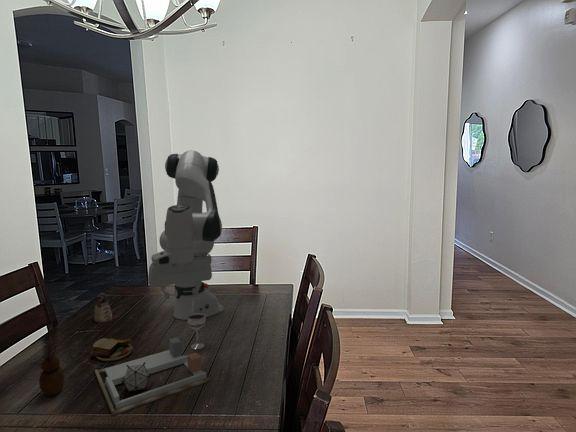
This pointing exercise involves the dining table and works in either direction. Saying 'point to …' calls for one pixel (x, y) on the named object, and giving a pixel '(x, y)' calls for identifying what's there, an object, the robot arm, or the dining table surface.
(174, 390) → the lane rails
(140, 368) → the game die
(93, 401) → the dining table surface
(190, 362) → the grey rectangular frame
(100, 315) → the figurine
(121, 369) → the inner strip
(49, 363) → the wooden figurine
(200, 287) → the robot arm
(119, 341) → the toy sandwich meal
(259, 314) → the dining table surface
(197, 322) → the wineglass
